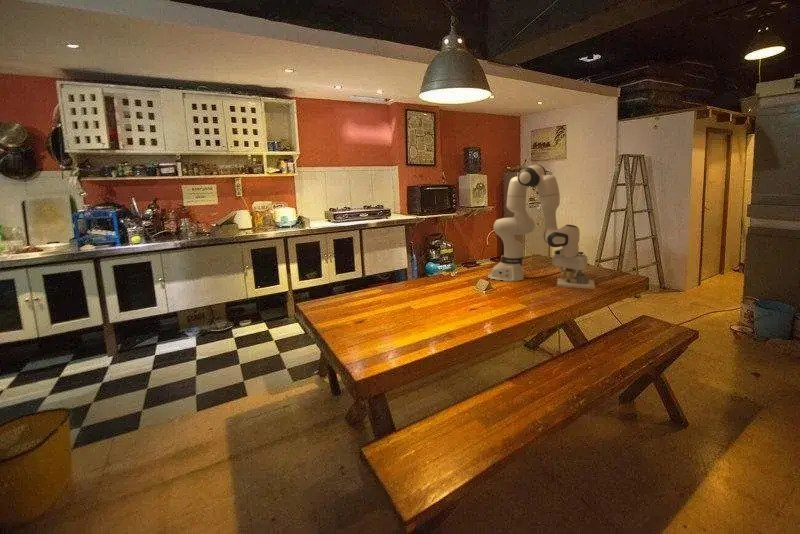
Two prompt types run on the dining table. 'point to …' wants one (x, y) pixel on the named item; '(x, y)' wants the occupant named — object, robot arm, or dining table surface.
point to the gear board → (577, 282)
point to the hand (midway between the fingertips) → (568, 275)
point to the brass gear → (568, 274)
